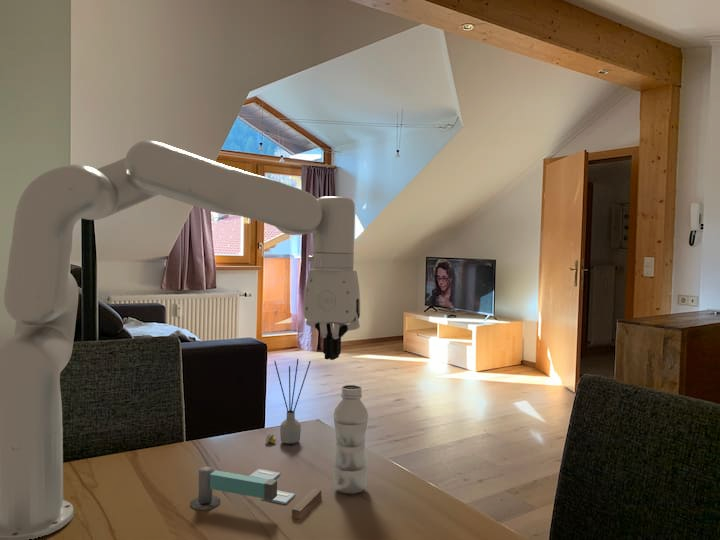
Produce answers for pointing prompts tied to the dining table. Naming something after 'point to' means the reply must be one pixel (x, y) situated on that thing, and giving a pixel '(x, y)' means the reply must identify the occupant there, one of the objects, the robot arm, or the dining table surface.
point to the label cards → (281, 496)
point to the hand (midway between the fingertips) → (331, 358)
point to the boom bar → (234, 485)
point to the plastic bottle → (350, 442)
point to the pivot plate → (206, 506)
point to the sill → (306, 504)
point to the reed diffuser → (289, 417)
